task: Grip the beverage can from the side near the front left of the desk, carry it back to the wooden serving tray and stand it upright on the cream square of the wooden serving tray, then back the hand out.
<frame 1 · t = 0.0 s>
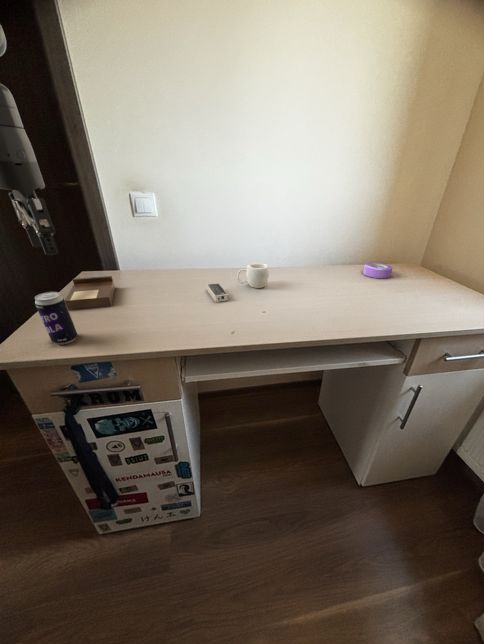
hand: (45, 250, 60), 22 cm above the table, tool pointing down, fingers open, 8 cm apart
mug: (252, 286, 108), on the table
beverage can: (66, 340, 72), on the table
tape roll: (376, 274, 125), on the table
wooden serving tray: (93, 298, 93), on the table
multiport hub: (217, 295, 99), on the table
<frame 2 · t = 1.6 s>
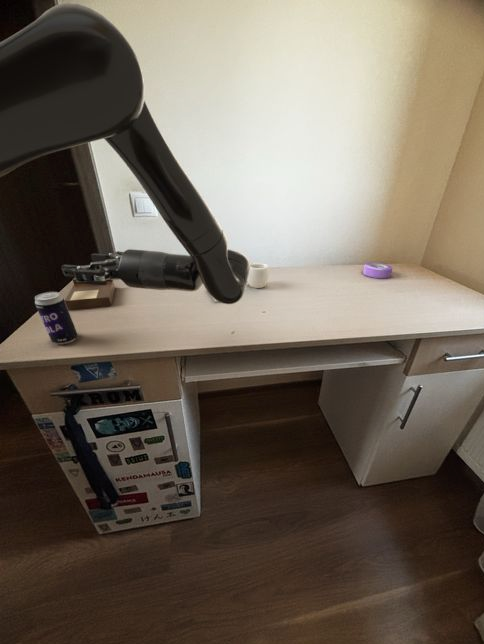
hand: (79, 264, 59), 20 cm above the table, tool horizontal, fingers open, 8 cm apart
nothing on the table moved.
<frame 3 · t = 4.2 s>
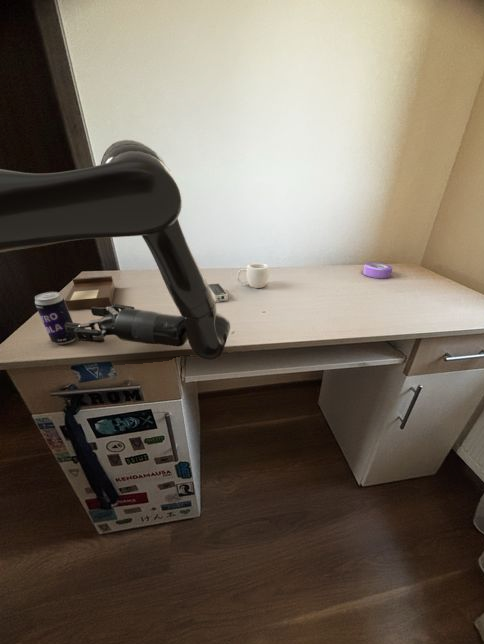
hand: (79, 318, 67), 7 cm above the table, tool horizontal, fingers open, 8 cm apart
nothing on the table moved.
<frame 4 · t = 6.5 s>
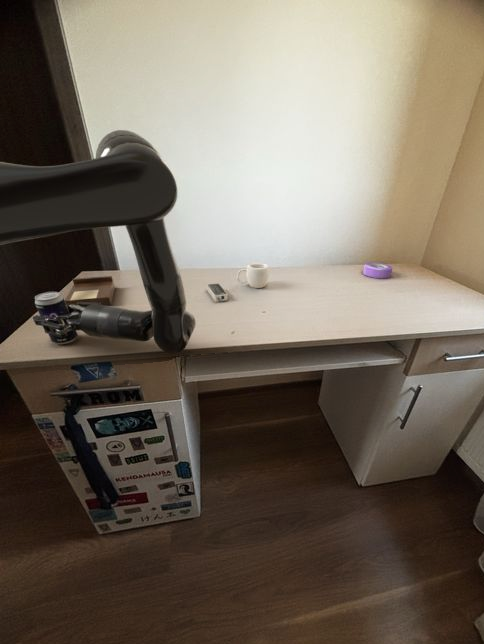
hand: (46, 314, 68), 7 cm above the table, tool horizontal, fingers closed on beverage can, 5 cm apart
beverage can: (66, 340, 72), on the table, touching gripper
everything else where it was.
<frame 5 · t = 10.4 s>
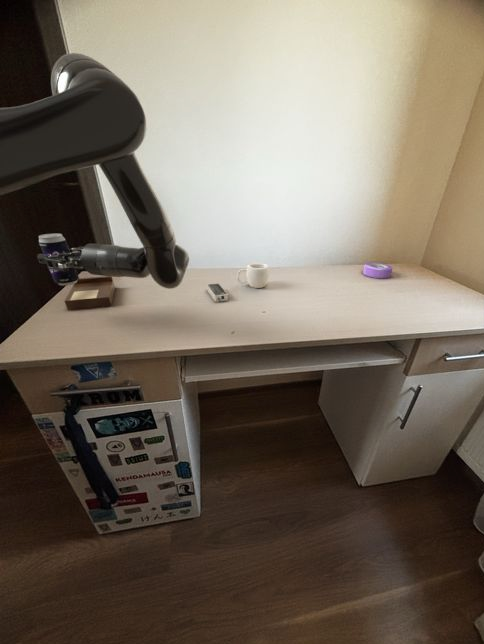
hand: (49, 255, 72), 18 cm above the table, tool horizontal, fingers closed on beverage can, 5 cm apart
beverage can: (68, 283, 75), point 11 cm above the table, touching gripper
everything else where it was.
when the fingers open (10 cm above the table, at t = 14.3 s): beverage can stays where it is, resting on wooden serving tray.
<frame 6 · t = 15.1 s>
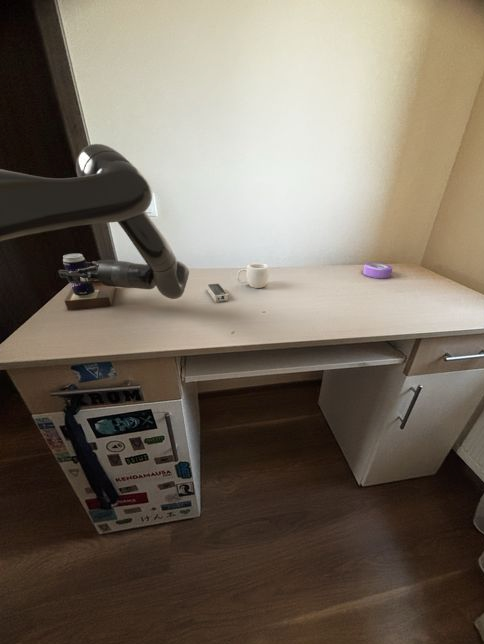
hand: (71, 269, 84), 11 cm above the table, tool horizontal, fingers open, 8 cm apart
beverage can: (85, 295, 88), point 3 cm above the table, touching wooden serving tray
everything else where it was.
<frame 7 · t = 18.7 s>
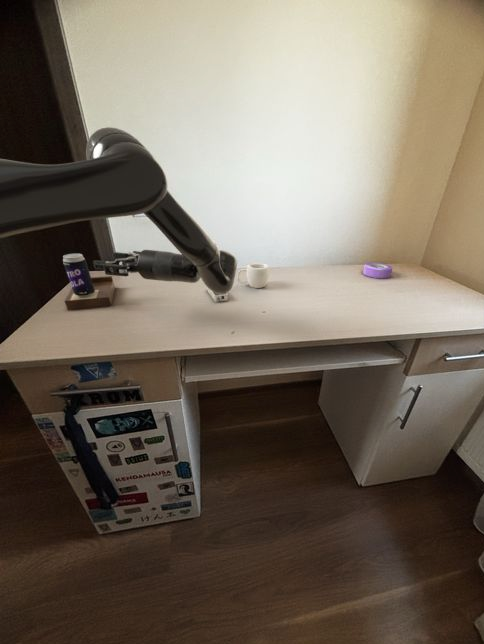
hand: (105, 260, 76), 16 cm above the table, tool horizontal, fingers open, 8 cm apart
nothing on the table moved.
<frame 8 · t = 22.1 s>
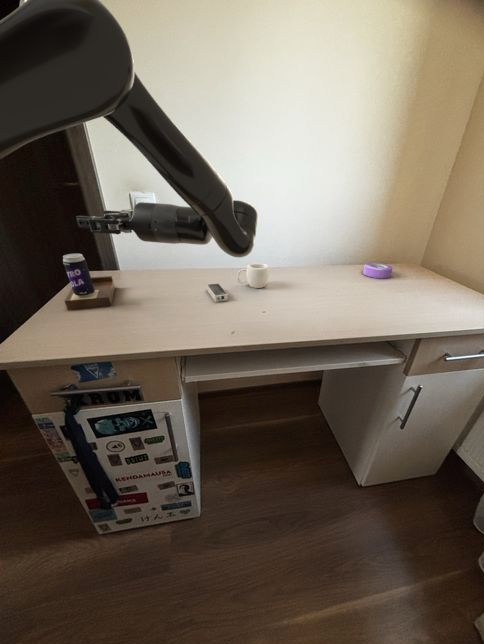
hand: (92, 218, 61), 28 cm above the table, tool horizontal, fingers open, 8 cm apart
nothing on the table moved.
at the end: beverage can 0.2 cm from the target spot on the wooden serving tray, point 2.9 cm above the wooden serving tray's base; beverage can tilted 0°; the gripper is holding nothing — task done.
